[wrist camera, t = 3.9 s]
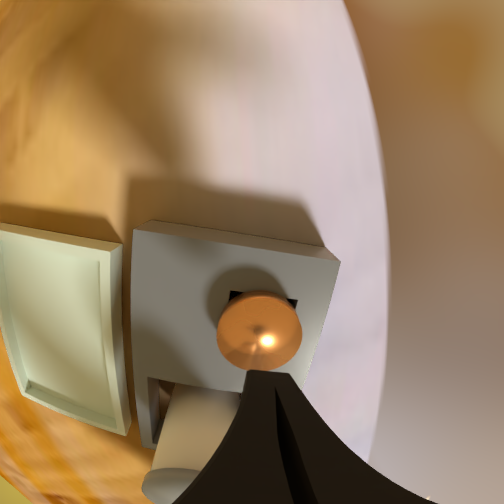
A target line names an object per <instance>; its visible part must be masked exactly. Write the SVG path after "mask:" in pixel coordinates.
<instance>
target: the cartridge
mask: <svg viewBox="0 0 504 504" xmlns="http://www.w3.org/2000/svg"><path fill="white" fill-rule="evenodd" d="M239 405H240V395H239V392H231V391H223V390H216V389H209V388H203V387H197V386H191V385H186V384H180V383H176V384H175V386H174V389H173V393H172V396H171V400H170V403H169V406H168V410H167V413H166V417H165V420H164V424H163V427H162V431H161V434H160V438H159V441H158V445H157V449H156V452H155V456H154V460H153V463H152V467H151V471H150V472H148V473H147V474H146V475H145V477H144V481H143V484H142V492H143V493H144V495H145V496H146V497H147V498H148V499H149V500H151V501H152V502H154V503H155V504H172V503H173V502H174V501H175V500H176V499H177V498H178V497H179V496H180V495H181V494H182V493H183V492H184V490H185V489H186V488H187V487H188V486H189V485H190V484H191V483H192V482H193V480H194V479H195V478H196V477H197V476H198V474H199V473H200V472H201V470H202V469H203V468H204V466H205V465H206V464H207V462H208V461H209V460H210V458H211V457H212V455H213V454H214V452H215V451H216V449H217V448H218V446H219V445H220V443H221V441H222V440H223V438H224V436H225V434H226V433H227V431H228V429H229V427H230V425H231V423H232V421H233V419H234V417H235V415H236V413H237V410H238V408H239Z"/></svg>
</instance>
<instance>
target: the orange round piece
mask: <svg viewBox="0 0 504 504" xmlns="http://www.w3.org/2000/svg"><path fill="white" fill-rule="evenodd" d="M216 338H217V344H218V348H219V350H220V352H221V353H222V355H223V356H224V357H225V359H226V360H228V361H229V362H230V363H231V364H233V365H234V366H236V367H238V368H241V369H244V370H247V371H249V370H250V369H253V370H262V371H269V370H273V369H276V368H278V367H280V366H282V365H284V364H286V363H287V362H288V361H290V360H291V359H292V358H293V357H294V356H295V354H296V353H297V351H298V350H299V348H300V345H301V342H302V327H301V324H300V321H299V318H298V315H297V313H296V310H295V308H294V307H293V305H292V304H291V303H290V302H289V301H288V300H287V299H286V298H284V297H283V296H281V295H279V294H277V293H274V292H271V291H266V290H253V291H248V292H239V294H238V295H237V296H236V297H234V298H233V299H232V300H230V301H229V302H228V303H227V304H226V306H225V307H224V308H223V310H222V312H221V314H220V317H219V322H218V328H217V336H216Z"/></svg>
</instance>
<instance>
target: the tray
mask: <svg viewBox="0 0 504 504" xmlns="http://www.w3.org/2000/svg"><path fill="white" fill-rule="evenodd" d="M122 251H123V244H120V243H114V242H108V241H102V240H97V239H91V238H85V237H79V236H74V235H68V234H62V233H57V232H51V231H45V230H40V229H34V228H29V227H23V226H18V225H13V224H7V223H0V327H1V332H2V335H3V339H4V343H5V346H6V350H7V353H8V357H9V360H10V363H11V366H12V369H13V372H14V375H15V378H16V381H17V383H18V386H19V389H20V391H21V394H22V395H23V396H25V397H27V398H29V399H31V400H33V401H35V402H37V403H39V404H41V405H43V406H45V407H48V408H50V409H52V410H54V411H57V412H59V413H61V414H64V415H66V416H68V417H71V418H73V419H76V420H79V421H81V422H84V423H87V424H89V425H92V426H95V427H98V428H101V429H104V430H107V431H110V432H113V433H116V434H120V435H123V436H126V435H127V433H128V430H129V428H130V425H131V423H132V420H131V413H130V406H129V399H128V391H127V382H126V372H125V360H124V346H123V327H122Z"/></svg>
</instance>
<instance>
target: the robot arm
mask: <svg viewBox="0 0 504 504" xmlns="http://www.w3.org/2000/svg"><path fill="white" fill-rule="evenodd" d="M172 504H437V503H435V502H432V501H429V500H427V499H424V498H422V497H420V496H418V495H416V494H414V493H412V492H410V491H408V490H406V489H404V488H403V487H401V486H399V485H397V484H396V483H394V482H392V481H391V480H389V479H388V478H386V477H385V476H383V475H382V474H380V473H379V472H377V471H376V470H375V469H373V468H372V467H371V466H369V465H368V464H367V463H366V462H364V461H363V460H362V459H361V458H360V457H359V456H357V455H356V454H355V453H354V452H353V451H352V450H351V449H349V448H348V447H347V446H346V445H345V444H344V443H343V442H342V441H341V440H340V439H339V438H338V436H337V435H336V434H335V433H334V432H333V431H332V430H331V429H330V428H329V426H328V425H327V424H326V423H325V422H324V420H323V419H322V418H321V417H320V415H319V414H318V413H317V412H316V410H315V409H314V408H313V406H312V405H311V404H310V402H309V401H308V400H307V398H306V397H305V395H304V394H303V392H302V391H301V390H300V388H299V387H298V385H297V384H296V382H295V381H294V379H293V378H292V376H291V375H290V374H289V373H284V372H272V371H262V370H253V369H250V370H249V371H247V372H246V377H245V382H244V386H243V391H242V396H241V401H240V405H239V408H238V410H237V413H236V415H235V417H234V419H233V421H232V423H231V425H230V427H229V429H228V431H227V433H226V434H225V436H224V438H223V440H222V441H221V443H220V445H219V446H218V448H217V449H216V451H215V452H214V454H213V455H212V457H211V458H210V460H209V461H208V462H207V464H206V465H205V466H204V468H203V469H202V470H201V472H200V473H199V474H198V476H197V477H196V478H195V479H194V480H193V482H192V483H191V484H190V485H189V486H188V487H187V488H186V489H185V490H184V492H183V493H182V494H181V495H180V496H179V497H178V498H177V499H176V500H175V501H174V502H173V503H172Z"/></svg>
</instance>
